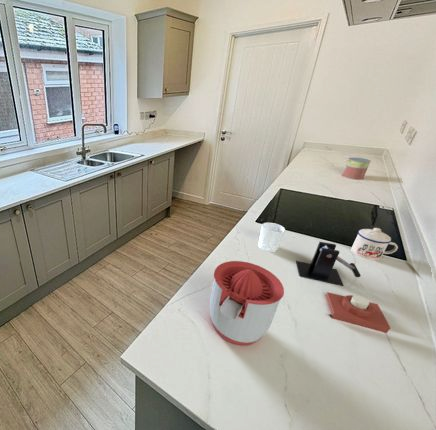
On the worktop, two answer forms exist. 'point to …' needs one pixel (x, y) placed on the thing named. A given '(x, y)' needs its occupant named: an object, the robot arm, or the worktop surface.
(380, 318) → the button housing
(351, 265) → the lever
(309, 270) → the bracket
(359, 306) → the button
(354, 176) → the canned food
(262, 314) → the citrus juicer
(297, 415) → the worktop surface
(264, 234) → the white cup
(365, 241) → the teacup with lid
